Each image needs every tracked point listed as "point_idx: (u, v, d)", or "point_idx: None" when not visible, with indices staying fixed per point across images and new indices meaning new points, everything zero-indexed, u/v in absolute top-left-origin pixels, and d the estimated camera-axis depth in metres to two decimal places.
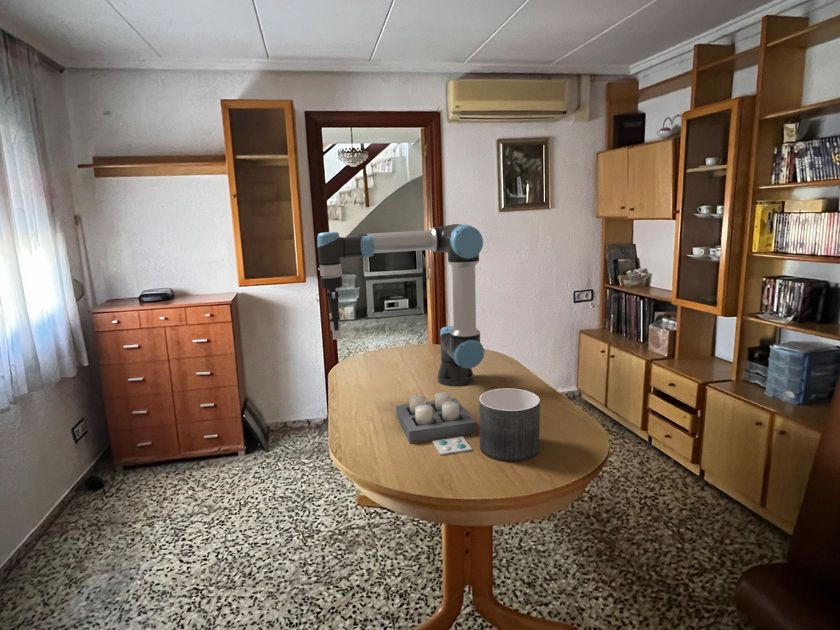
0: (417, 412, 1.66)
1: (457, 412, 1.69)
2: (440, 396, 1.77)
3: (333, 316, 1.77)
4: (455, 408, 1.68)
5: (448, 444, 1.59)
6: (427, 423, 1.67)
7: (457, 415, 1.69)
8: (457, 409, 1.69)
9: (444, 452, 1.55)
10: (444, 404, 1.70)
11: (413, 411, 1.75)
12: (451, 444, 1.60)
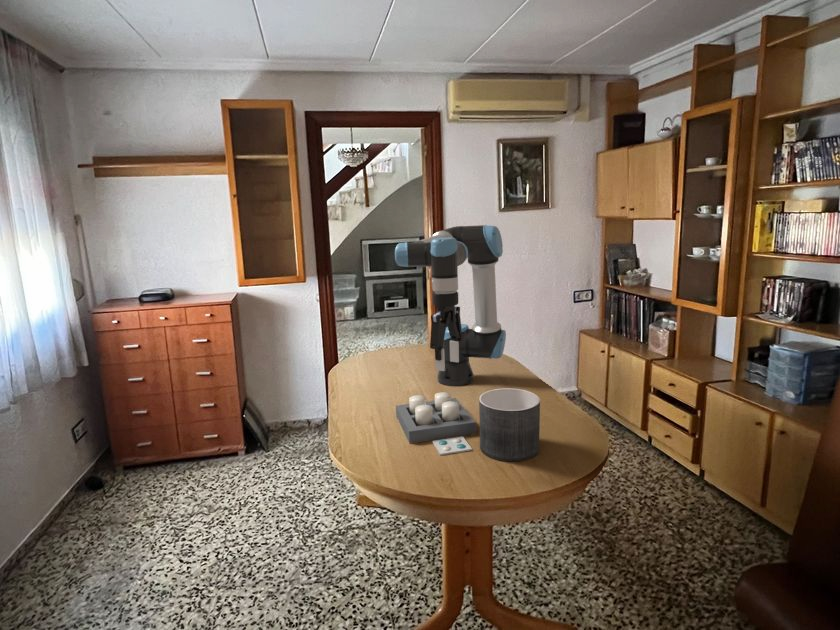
0: (417, 412, 1.66)
1: (457, 412, 1.69)
2: (440, 396, 1.77)
3: (431, 344, 1.48)
4: (455, 408, 1.68)
5: (448, 444, 1.59)
6: (427, 423, 1.67)
7: (457, 415, 1.69)
8: (457, 409, 1.69)
9: (444, 452, 1.55)
10: (444, 404, 1.70)
11: (413, 411, 1.75)
12: (451, 444, 1.60)
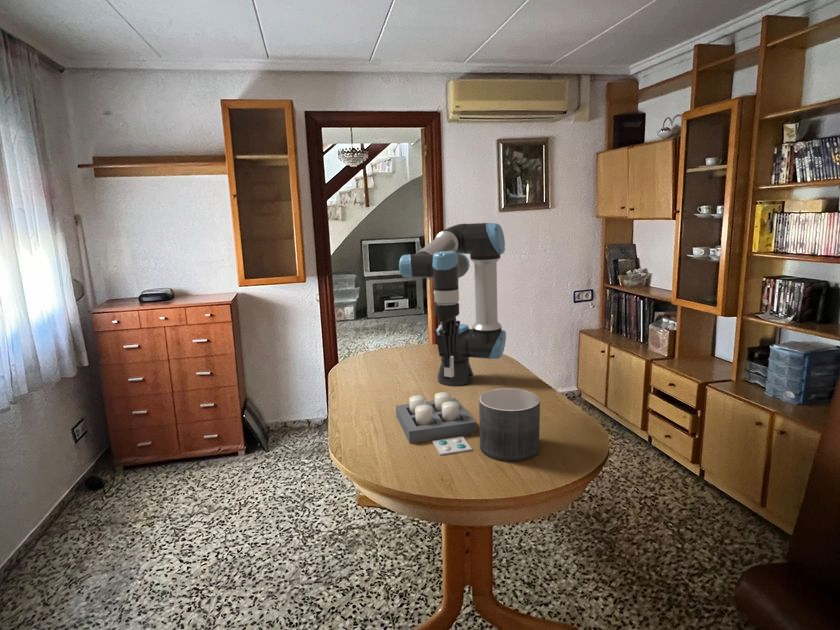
0: (417, 412, 1.66)
1: (457, 412, 1.69)
2: (440, 396, 1.77)
3: (440, 353, 1.58)
4: (455, 408, 1.68)
5: (448, 444, 1.59)
6: (427, 423, 1.67)
7: (457, 415, 1.69)
8: (457, 409, 1.69)
9: (444, 452, 1.55)
10: (444, 404, 1.70)
11: (413, 411, 1.75)
12: (451, 444, 1.60)
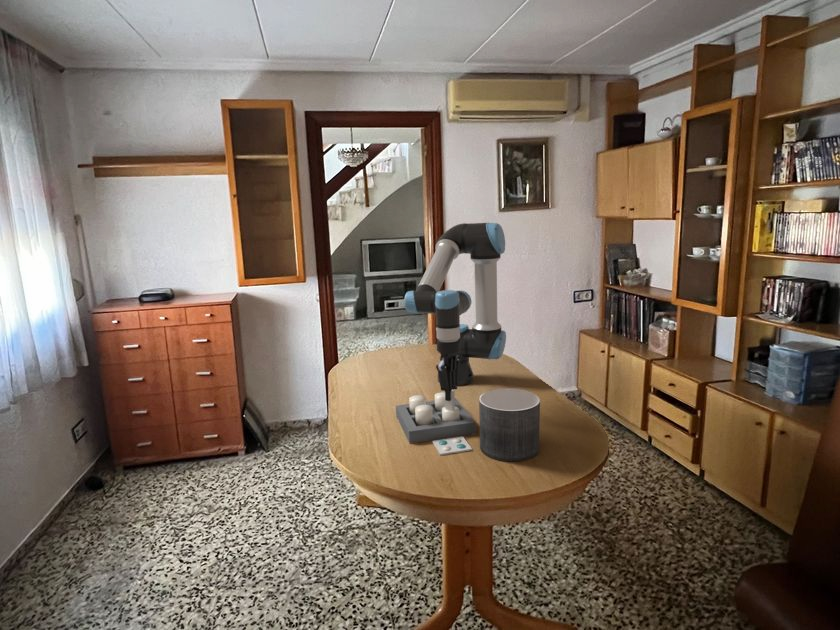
0: (417, 412, 1.66)
1: (457, 417, 1.69)
2: (440, 396, 1.77)
3: (441, 387, 1.66)
4: (455, 413, 1.68)
5: (448, 444, 1.59)
6: (427, 423, 1.67)
7: (457, 420, 1.69)
8: (457, 414, 1.69)
9: (444, 452, 1.55)
10: (444, 409, 1.71)
11: (413, 411, 1.75)
12: (451, 444, 1.60)
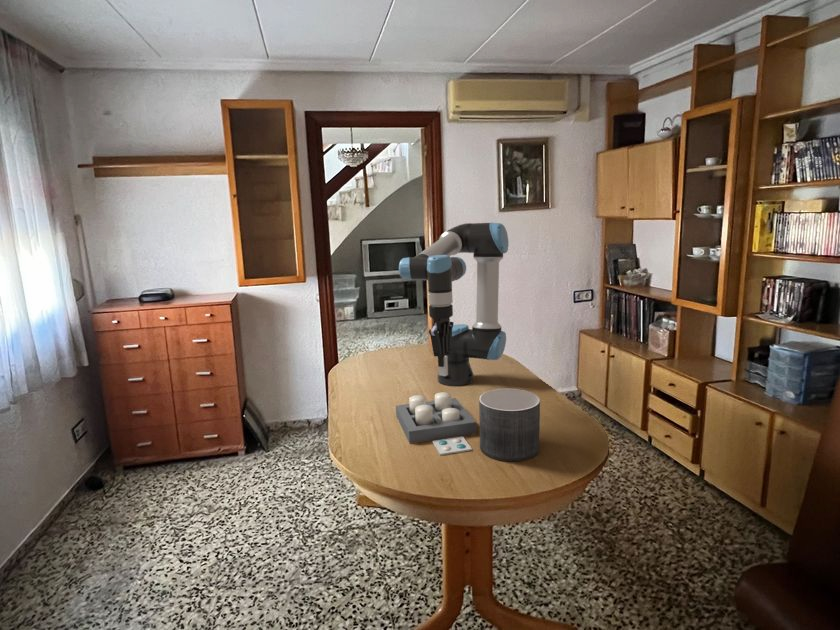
0: (417, 412, 1.66)
1: (457, 419, 1.69)
2: (440, 396, 1.77)
3: (434, 353, 1.65)
4: (455, 415, 1.68)
5: (448, 444, 1.59)
6: (427, 423, 1.67)
7: None
8: (457, 416, 1.69)
9: (444, 452, 1.55)
10: (444, 410, 1.71)
11: (413, 411, 1.75)
12: (451, 444, 1.60)
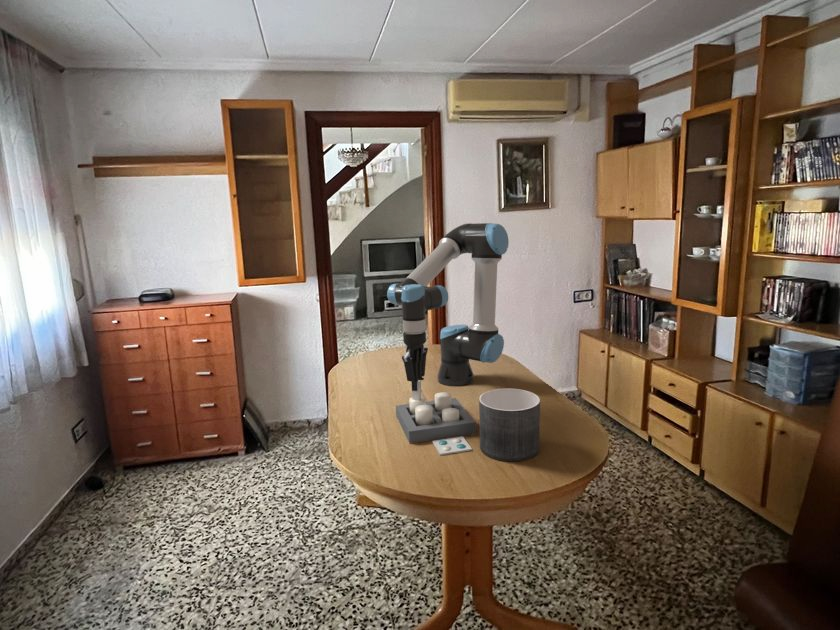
0: (417, 412, 1.66)
1: (457, 419, 1.69)
2: (440, 396, 1.77)
3: (408, 378, 1.72)
4: (455, 415, 1.68)
5: (448, 444, 1.59)
6: (427, 423, 1.67)
7: None
8: (457, 416, 1.69)
9: (444, 452, 1.55)
10: (444, 410, 1.71)
11: (413, 412, 1.75)
12: (451, 444, 1.60)
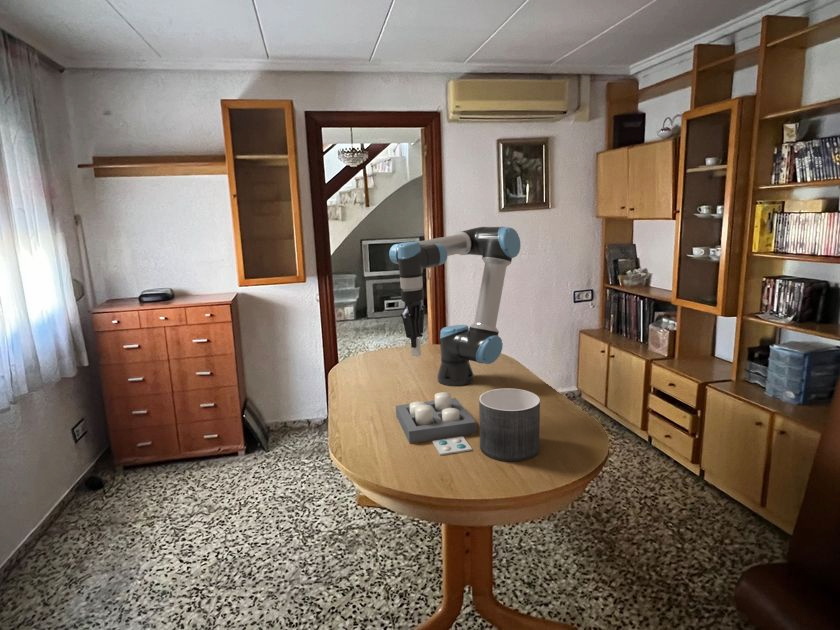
0: (417, 412, 1.66)
1: (457, 419, 1.69)
2: (440, 396, 1.77)
3: (407, 334, 1.75)
4: (455, 415, 1.68)
5: (448, 444, 1.59)
6: (427, 423, 1.67)
7: None
8: (457, 416, 1.69)
9: (444, 452, 1.55)
10: (444, 410, 1.71)
11: None
12: (451, 444, 1.60)
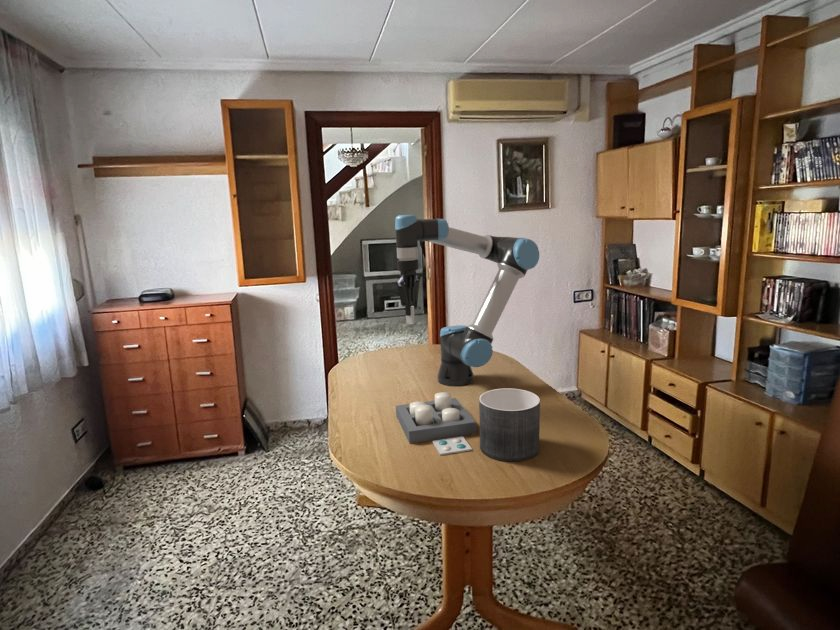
0: (417, 412, 1.66)
1: (457, 419, 1.69)
2: (440, 396, 1.77)
3: (402, 302, 1.85)
4: (455, 415, 1.68)
5: (448, 444, 1.59)
6: (427, 423, 1.67)
7: None
8: (457, 416, 1.69)
9: (444, 452, 1.55)
10: (444, 410, 1.71)
11: None
12: (451, 444, 1.60)
